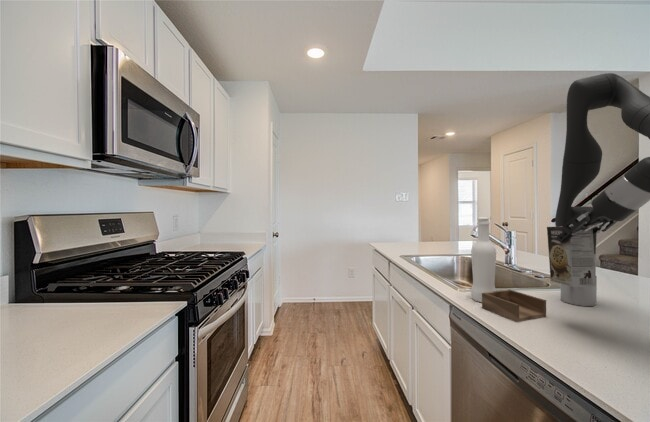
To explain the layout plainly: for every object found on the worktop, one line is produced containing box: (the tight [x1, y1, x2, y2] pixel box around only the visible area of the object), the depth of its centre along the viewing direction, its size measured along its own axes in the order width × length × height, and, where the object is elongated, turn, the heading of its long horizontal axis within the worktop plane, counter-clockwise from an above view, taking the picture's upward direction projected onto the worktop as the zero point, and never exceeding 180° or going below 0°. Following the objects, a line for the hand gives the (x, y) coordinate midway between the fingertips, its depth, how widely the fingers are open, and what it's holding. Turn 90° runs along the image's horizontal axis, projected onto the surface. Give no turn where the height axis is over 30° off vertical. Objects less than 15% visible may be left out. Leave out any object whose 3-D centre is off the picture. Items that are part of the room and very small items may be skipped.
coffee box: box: [546, 226, 597, 287], centre depth 83 cm, size 9×6×16 cm
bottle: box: [470, 216, 497, 304], centre depth 106 cm, size 8×8×30 cm
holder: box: [481, 288, 547, 323], centre depth 94 cm, size 12×12×5 cm
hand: (570, 240), depth 82 cm, fingers closed on coffee box, 8 cm apart
